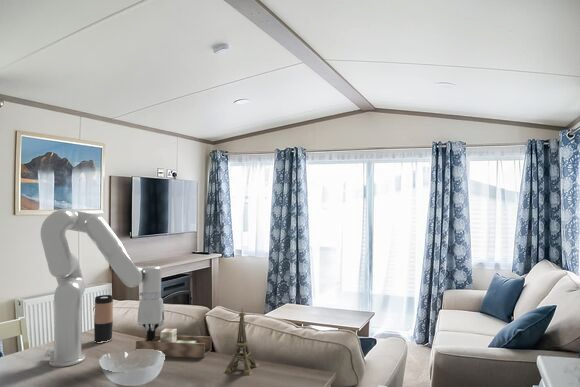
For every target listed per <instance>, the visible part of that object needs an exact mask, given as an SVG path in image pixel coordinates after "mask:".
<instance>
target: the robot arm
mask: <svg viewBox="0 0 580 387" xmlns="http://www.w3.org/2000/svg"><path fill="white" fill-rule="evenodd" d="M67 230H69V231H74V232H80V233H83V234H84V233H86V234H87V236H88V237H89V238H90V240H91V241H92V243H93V244H94V245H95V246H96V248H97V249H98V250H99V251H100V253H101V254H102V256H103V257H104V260H106V262H107V263H108V264H109V265H110V267H111V268H112V270H113V271H114V273H115V274H116V275H117V277H118V278H119V280H120V281H121V282H122V284H124V285H125V286H126V287H128V288H136V287H138V286H140V284H142V291H141V292H139V296H140V297H141V299H139V303H138V304H139V305H138V308H137V323H138V325H139V326H141V327H143V328H144V329H145V331H146V334H147V338H148V341H149V340H150V341H152V340H153V339H154V338H155V335H156V330H157V329H158V328H159V327H163V326H164V325H165V307H164V299H163V298H162V268H161V267H160V266H158V265H148V266H139V265H138V266H136V265H135V263H134V262H133V260H132V259H131V258H130V256H129V255H128V253H127V251H126V248H125V247H124V244H123V242H122V241H121V240H120V238H119V237H118V236H117V234H116V233H115V232H114V230H113V229H112V227H111V226H110V225H109V223H108V221H107V219H106V217H104V215H101V214H95V213H89V212H86V211H79V210H76V209H75V210H74V209H69V208H60V209H57V210H55V211H53V212H51V213H50V214H49V215H48V216H47V217H46V218H45V219H44V221H43V222H42V224H41V228H40V239H41V244H42V247H43V250H44V251H43V253H44V256H45V259H46V264H47V267H48V271H49V274H50V275H51V276H52V277H54V278H55V279H56V282H57V285H58V286H57V287H56V288H55V290H54V292H53V293H54V295H53V304H54V305H53V306H54V307H53V308H54V327H53V328H54V330H53V331H54V332H53V333H54V334H53V340H54V341H53V349H52V348H51V349H50V348H48V349H46V352H45V354H44V355H45V356H46V357H50V359H48V360H49V361H48V364H49V365H50V366H51V367H54V368H55V367H59V368H61V367H62V368H64V367H68V366H69V367H70V366H73V365H76V364H79V363H82V362H83V361H85V359H86V354H84V353H83V352H82V330H83V328H82V327H83V301H82V300H83V295H84V292H85V290H86V284H85V279H84V277H83V273H82V270H81V266H80V262H79V260H78V258H77V257H76V255H75V254H74V253H72V252H71V250H70V247H69V242H68V239H67V237H66V232H67Z"/></svg>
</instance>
